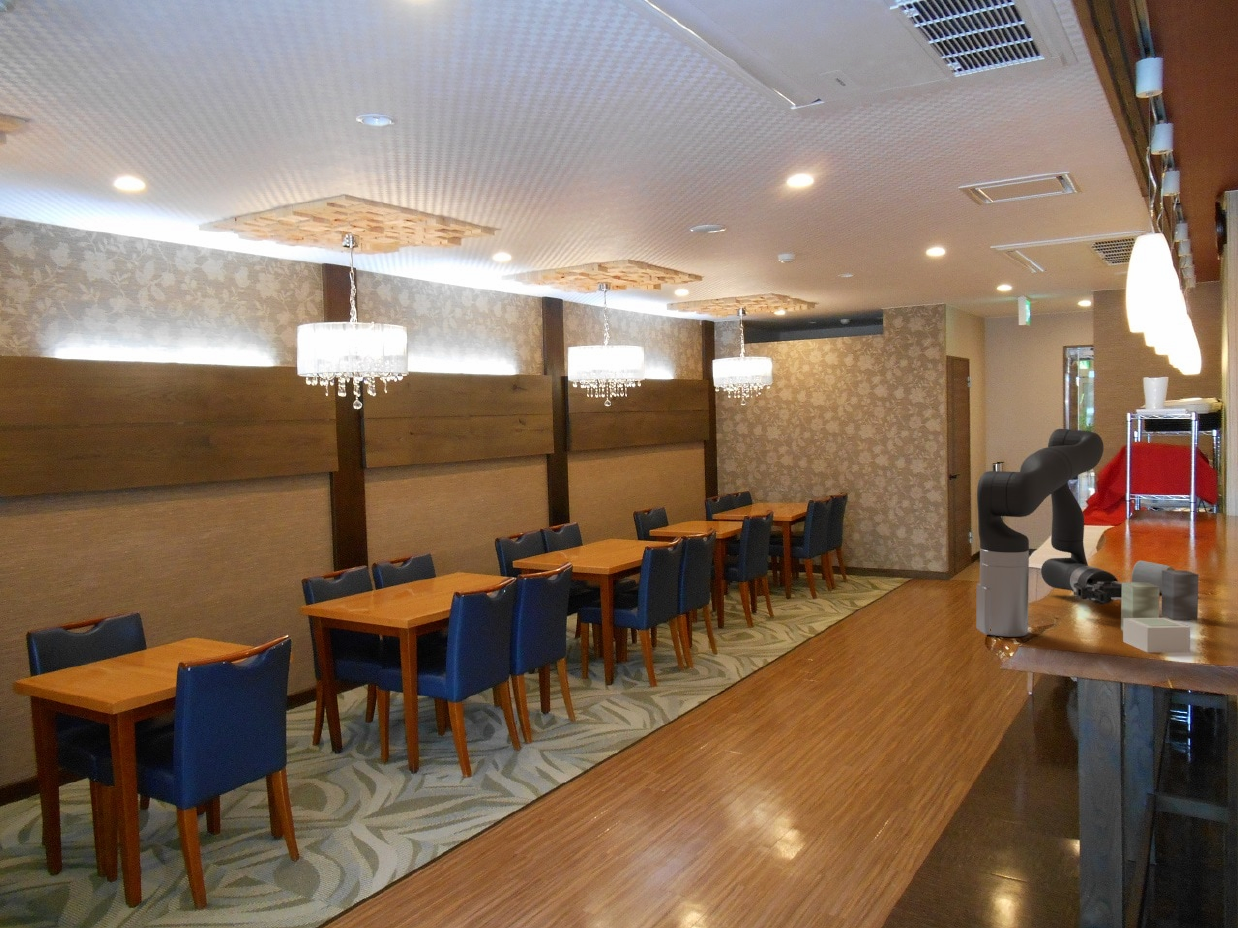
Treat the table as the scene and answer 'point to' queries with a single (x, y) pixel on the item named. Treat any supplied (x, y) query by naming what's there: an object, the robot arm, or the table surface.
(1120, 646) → the table surface
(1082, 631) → the table surface
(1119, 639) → the table surface
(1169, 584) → the slate pillar
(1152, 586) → the sage pillar
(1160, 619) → the cream base block
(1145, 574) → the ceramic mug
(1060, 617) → the table surface
